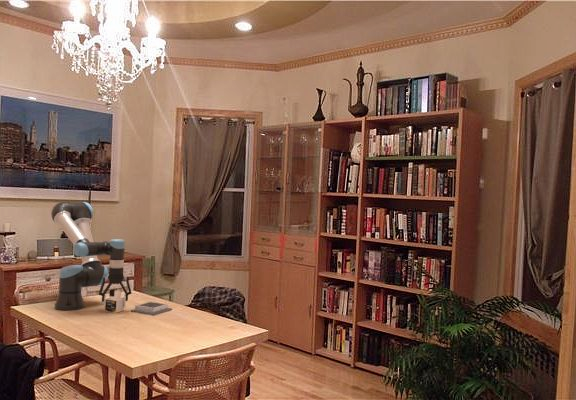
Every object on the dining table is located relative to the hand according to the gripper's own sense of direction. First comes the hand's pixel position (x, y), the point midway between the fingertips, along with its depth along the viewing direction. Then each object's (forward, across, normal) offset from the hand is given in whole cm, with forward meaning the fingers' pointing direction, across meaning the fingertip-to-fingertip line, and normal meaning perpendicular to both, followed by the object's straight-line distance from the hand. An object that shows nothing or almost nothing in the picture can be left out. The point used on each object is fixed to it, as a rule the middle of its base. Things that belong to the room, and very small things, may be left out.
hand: (114, 307), depth 261 cm
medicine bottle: (+2, 0, 0) cm, 2 cm away
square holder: (+2, +20, -3) cm, 20 cm away
